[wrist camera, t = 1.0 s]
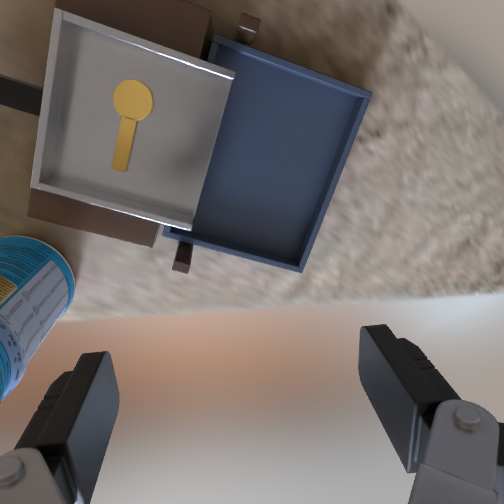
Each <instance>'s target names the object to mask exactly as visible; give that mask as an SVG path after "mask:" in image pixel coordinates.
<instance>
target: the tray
mask: <svg viewBox="0 0 504 504" xmlns="http://www.w3.org/2000/svg"><path fill="white" fill-rule="evenodd" d="M207 62H210V63H213V64H215V65H218V66H221V67H224V68H227V69H229V70H232V71H235V72H236V73H235V77H234V79H233V81H232V84H231V88H230V91H229V95H228V98H227V102H226V106H225V109H224V113H223V116H222V120H221V123H220V127H219V131H218V134H217V138H216V141H215V145H214V148H213V152H212V156H211V159H210V163H209V166H208V170H207V173H206V177H205V181H204V184H203V188H202V191H201V195H200V198H199V202H198V206H197V209H196V213H195V216H194V221H193V226H192V230H191V231H189V230H185V229H182V228H178V227H174V226H170V225H167V224H165V227H164V231H163V235H162V236H163V237H167V238H171V239H175V240H178V241H182V242H186V243H190V244H193V245H197V246H201V247H205V248H208V249H212V250H216V251H220V252H223V253H227V254H231V255H235V256H238V257H242V258H246V259H250V260H253V261H257V262H261V263H265V264H269V265H272V266H276V267H280V268H284V269H287V270H291V271H295V272H299V273H302V272H303V269H304V267H305V264H306V262H307V259H308V257H309V254H310V252H311V249H312V246H313V244H314V241H315V239H316V236H317V234H318V231H319V229H320V226H321V223H322V221H323V218H324V216H325V213H326V211H327V208H328V206H329V203H330V200H331V198H332V195H333V193H334V190H335V188H336V185H337V183H338V180H339V177H340V175H341V172H342V170H343V167H344V165H345V162H346V160H347V157H348V154H349V152H350V149H351V147H352V144H353V142H354V139H355V137H356V134H357V131H358V129H359V126H360V124H361V121H362V119H363V116H364V114H365V111H366V109H367V106H368V103H369V101H370V98H371V96H372V92H370V91H367V90H365V89H362V88H359V87H357V86H354V85H351V84H349V83H346V82H343V81H340V80H338V79H335V78H332V77H330V76H327V75H324V74H322V73H319V72H316V71H314V70H311V69H308V68H306V67H303V66H300V65H297V64H295V63H292V62H289V61H287V60H284V59H281V58H279V57H276V56H273V55H271V54H268V53H265V52H262V51H260V50H257V49H254V48H252V47H249V46H246V45H244V44H241V43H238V42H236V41H233V40H230V39H227V38H225V37H222V36H219V35H217V34H214V36H213V40H212V44H211V47H210V51H209V55H208V59H207Z"/></svg>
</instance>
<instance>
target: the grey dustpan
mask: <svg viewBox="0 0 504 504" xmlns="http://www.w3.org/2000/svg"><path fill="white" fill-rule="evenodd" d="M235 73H236V72H235V71H232V70H229V69H227V68H224V67H221V66H218V65H215V64H213V63H210V62H207V61H204V60H201V59H199V58H196V57H193V56H190V55H187V54H185V53H182V52H179V51H176V50H173V49H170V48H168V47H165V46H162V45H159V44H156V43H154V42H151V41H148V40H145V39H142V38H140V37H137V36H134V35H131V34H128V33H126V32H123V31H120V30H117V29H114V28H112V27H109V26H106V25H103V24H100V23H98V22H95V21H92V20H89V19H86V18H84V17H81V16H78V15H75V14H72V13H70V12H67V11H63V10H61V9H58V8H56V7H55V8H54V14H53V21H52V29H51V36H50V44H49V51H48V58H47V66H46V73H45V81H44V88H42V87H39V86H35V85H32V84H29V83H26V82H23V81H20V80H17V79H13V78H10V77H7V76H4V75H1V74H0V104H1V105H4V106H7V107H11V108H14V109H17V110H21V111H24V112H27V113H30V114H34V115H37V116H40V117H39V125H38V132H37V140H36V147H35V154H34V162H33V169H32V177H31V184H30V187H31V188H34V189H39V190H42V191H46V192H49V193H53V194H57V195H60V196H64V197H68V198H71V199H75V200H79V201H82V202H86V203H90V204H93V205H97V206H101V207H104V208H108V209H112V210H115V211H119V212H123V213H126V214H130V215H134V216H137V217H141V218H145V219H148V220H152V221H156V222H159V223H163V224H167V225H170V226H174V227H178V228H182V229H185V230H189V231H191V230H192V226H193V221H194V216H195V213H196V209H197V206H198V202H199V198H200V195H201V191H202V188H203V184H204V181H205V177H206V173H207V170H208V166H209V163H210V159H211V156H212V152H213V148H214V145H215V141H216V138H217V134H218V131H219V127H220V123H221V120H222V116H223V113H224V109H225V106H226V102H227V98H228V95H229V91H230V88H231V84H232V81H233V79H234V77H235ZM127 79H134V80H138V81H141V82H142V83H144V84H145V85H146V86H147V87H148V88H149V90H150V91H151V93H152V96H153V108H152V111H151V112H150V114H149V115H148V116H147V117H146V118H144V119H142V120H138V121H137V125H136V129H135V134H134V139H133V143H132V148H131V153H130V157H129V162H128V167H127V171H126V172H125V173H124V172H121V171H118V170H114V169H111V167H112V162H113V157H114V152H115V147H116V142H117V137H118V132H119V127H120V122H121V117H122V116H121V115H120V114H119V113H118V111H117V110H116V108H115V106H114V103H113V93H114V90H115V88H116V86H117V85H118V84H119V83H120V82H122V81H124V80H127Z"/></svg>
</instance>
